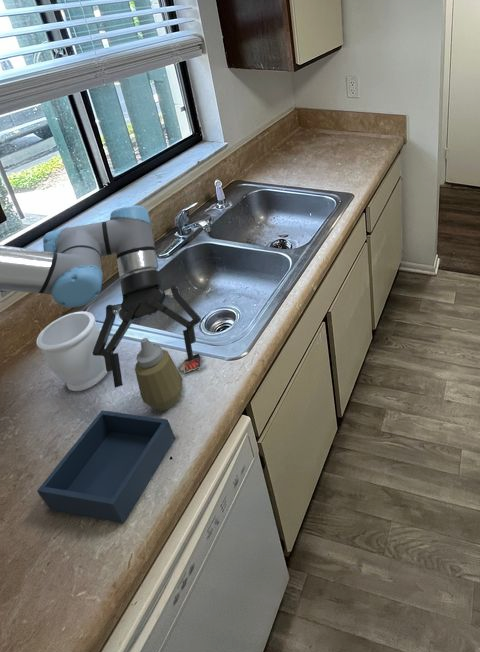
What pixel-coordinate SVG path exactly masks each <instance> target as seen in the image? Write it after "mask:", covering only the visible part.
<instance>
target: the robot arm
mask: <svg viewBox="0 0 480 652" xmlns="http://www.w3.org/2000/svg"><path fill="white" fill-rule="evenodd" d="M42 245H43V246H42V247H43V250H37V249H30V248H24V247H16V246H11V245H10V246H9V245H2V244H0V291H5V292H6V291H9V292H21V293H31V294H44V295H51V296H52V298H53V301H54V302H55V304H58V305H59V306H62V307H64V308H73V309H74V308H79V307H83V306H85V305H88V304H89V303H92V302H93V301H94V300H95V299H96V298H97V297H98V296H99V294H100V293H101V291H102V287H103V286H102V284H103V279H104V277H103V276H104V273H103V270H102V269H103V268H102V257H106V256H111V255H113V254H115V255H116V263H117V270H118V277H119V278H121V279H120V281H119V282H120V290H121V296H122V301H121V303H117V304H107V305H106V306H105V318H104V321H103V324H102V326H101V329H100V330H101V331H100V334H99V337H98V339H97V342H96V345H95V347H94V350H93V355H94V356H104V358H105V365H106V370H107V373H111V372H112V378H113V380H112V381H113V386H114V388H115V389H116V388H119V387H122V386H123V385H124V384H123V378H122V371H121V363H120V356H119V352H115V351H116V349H117V348H118V345H119V344H120V343H121V341H122V340H123V338H124V336H125V334H126V333H127V332H128V330H129V329H130V326H131V325H132V324H133V323H134V321H135V319H139V320H140V319H143V318H145V317H147V316H153V315H156V314H157V313H159V312H161V313H162V314H163V315H166V316H167V317H169V318H170V319H172V320H174V321H175V322H177V323H178V324H179V325H181V326H183V327H185V328H186V329H184V330H182V333H183V340H184V345H185V351H186V356H187V358H188V362H189V361H192V360H194V357H193V355H194V352H193V346H192V345H193V344H195V343H196V341H197V338H196V333H195V327H196V325H198V324H199V323H201V322H202V317H201V316H200V315H199V314H198V313H197V311H196V310H195V309H194V308H193V307H192V306H191V305H190V303H189V302H188V301H186V299H185V298H184V297H183V296H182V293H181V291H180V288H179V287H178V286H176V285H172V286H171V287H170V288H168V289H166V290H164V289H163V285H162V280H161V273H160V271H159V270H157V269H159V262H158V257H157V251H156V245H155V239H154V233H153V227H152V222H151V219H150V215H149V210H148V208H146V207H144V206H142V205H137V204H136V205H134V204H133V205H126V206H125V205H124V206H122V207H119V208H115V209H114V210H112V212H110V217H109V219H108V220H105V221H99V222H93V223H87V224H82V225H76V226H69V227H67V226H66V227H63V228H61V229H57V230H51V231H49V232H47V233H45V234H44V236H43V239H42ZM167 296H168V297H169V298H171V299H173V298H174V300H175V301H176V302H177V303H178V305H179V306H180V307H181V309H183V310H184V312H186V313H187V314H188V316H189V317H190V318H191V319H192V320H188V319H186V318H185V317H184V316H182V315H181V314H179V313H177V312H175V310H172V309H171V308H169V307H168V306H167V305H165V304H163V303H164V302H165V299H166V297H167ZM121 310H123V311H124V312H125V313H126V314H125V316H124V317H123V319H122V321H121V323H120V324H119V326H118V328H117V330H116V331H115V333H114V334H113V336H112V338H111V339H110V341H109V342H108V340H109V338H110V334H111V331H112V330H113V326H114V323H115V321H116V317H117V315H118V314H120V311H121ZM107 342H108V344H107ZM105 346H106V349H104V348H105Z"/></svg>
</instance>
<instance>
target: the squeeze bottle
mask: <svg viewBox="0 0 480 652" xmlns="http://www.w3.org/2000/svg"><path fill="white" fill-rule="evenodd" d="M135 359H136V361H137V362H136V363H135V366H134V373H135V376H136V380H137V384H138V389H139V393H140V398H141V400H142V402H143V403H144V404H146V405H147V406H148V407H150V408H151V409H153V410H154V411H157V412H163V411H167V410H169V409H171V408H172V407H174V406H175V405H176V404H177V403H178V402H179V400H180V398H181V396H182V388H183V383H184V382H183V381H184V380H183V376H182V375H181V373H180V371H179V369H178V367H177V366H176V364H175V362H174V360H173V358H172V357H171V355H170V352H169V351H168V350H166V349H164V348H163V347H162V346H161V345H160V344H157V343H152V342H151V341H150V340H149V339H148V338H147V337H144V338H142V339H141V340H140V350H139V352H138V353H137V355H136V358H135Z"/></svg>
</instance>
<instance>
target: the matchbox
mask: <svg viewBox="0 0 480 652" xmlns="http://www.w3.org/2000/svg"><path fill="white" fill-rule="evenodd" d="M193 357H194V360H192V361H189V362H188V357H187V358H185V359H184V360H183V362H182V363H181V364H180V365H179V369H180V371H181V372H182V371H183V373H184V374H186V373H189V372H191V371H195V370H196V369H197V371H200V370H201V369H202V357H201V355H200V354H199V353H196V354H193Z"/></svg>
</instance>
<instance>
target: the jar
mask: <svg viewBox="0 0 480 652" xmlns="http://www.w3.org/2000/svg"><path fill="white" fill-rule="evenodd" d="M100 331H101V329H100V327H99V325H97V323H96V317H95V316H94V314H93V313H92V312H90V311H86V310H85V311H84V310H82V311H81V310H79V311H74V312H71V313H67V314H65V315H62V316H60V317H59V318H57V319H55V320H53V321H51V322H50V323H49V324H48V325H47V326H45V327H44V328H43V329H42V330H41V331H40V332H39V334H38V336H37V338H36V346H37V347H38V348H39V349H40V350H41V351H42V352H43V356H44V359H45V362H46V364H47V366H48V367H49V369H50V370H51V372H53V373H54V374H55V375H56V376H57V378H59V379H60V380H61V381H62V382H64V383H65V384H66V388H67V389H68V390H70V391H73V392H81V391H85V390H87V389H90V388H92V387H93V386H95V385H97V384H98V383H100V382H101V381H103V379H104V378H105V377H106V375H107V374H108V372H107V370H106V365H105V358H104V356H94V355H93V350H94V347H95V345H96V342H97V339H98V337H99V334H100ZM106 347H107V345H105V348H104V349H106Z"/></svg>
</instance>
